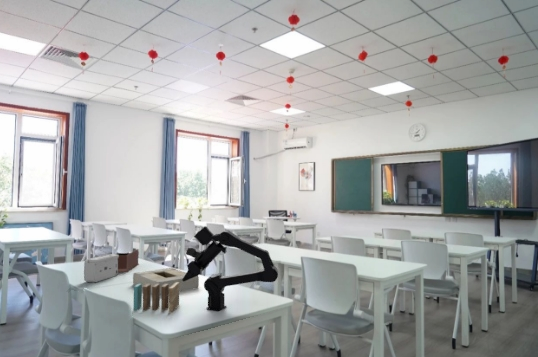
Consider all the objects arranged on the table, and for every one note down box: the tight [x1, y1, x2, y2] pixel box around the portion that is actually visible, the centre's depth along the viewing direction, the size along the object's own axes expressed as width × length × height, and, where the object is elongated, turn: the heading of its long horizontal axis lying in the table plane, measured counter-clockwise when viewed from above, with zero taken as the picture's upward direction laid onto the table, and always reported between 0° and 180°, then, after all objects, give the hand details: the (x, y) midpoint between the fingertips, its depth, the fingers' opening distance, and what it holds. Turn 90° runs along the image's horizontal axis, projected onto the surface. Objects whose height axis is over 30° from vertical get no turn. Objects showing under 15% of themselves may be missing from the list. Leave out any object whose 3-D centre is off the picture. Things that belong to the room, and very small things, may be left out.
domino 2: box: [142, 284, 152, 311], centre depth 159 cm, size 2×5×10 cm, turn 179°
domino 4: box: [160, 284, 169, 311], centre depth 158 cm, size 2×5×10 cm, turn 179°
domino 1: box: [133, 284, 143, 311], centre depth 159 cm, size 2×5×10 cm, turn 179°
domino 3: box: [151, 284, 161, 311], centre depth 159 cm, size 2×5×10 cm, turn 179°
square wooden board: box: [168, 282, 180, 313], centre depth 158 cm, size 2×10×10 cm, turn 179°
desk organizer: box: [114, 248, 140, 274], centre depth 249 cm, size 10×29×11 cm, turn 6°
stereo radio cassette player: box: [83, 247, 119, 283], centre depth 217 cm, size 21×8×20 cm, turn 164°
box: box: [132, 267, 200, 296], centre depth 198 cm, size 23×8×32 cm
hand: (185, 278), depth 159 cm, fingers open, 7 cm apart
